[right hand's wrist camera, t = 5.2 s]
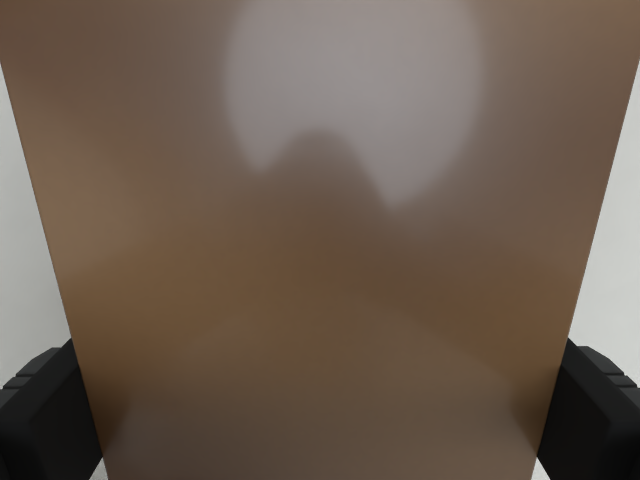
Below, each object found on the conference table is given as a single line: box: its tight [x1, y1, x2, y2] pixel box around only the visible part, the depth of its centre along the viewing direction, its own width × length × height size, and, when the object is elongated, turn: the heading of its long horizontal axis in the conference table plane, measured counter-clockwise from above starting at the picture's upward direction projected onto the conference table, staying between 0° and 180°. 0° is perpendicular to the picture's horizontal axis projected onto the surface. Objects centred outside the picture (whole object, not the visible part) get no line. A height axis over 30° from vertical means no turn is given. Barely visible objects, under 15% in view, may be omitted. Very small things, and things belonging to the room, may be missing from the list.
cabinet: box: [0, 0, 640, 480], centre depth 10 cm, size 21×10×8 cm, turn 0°
